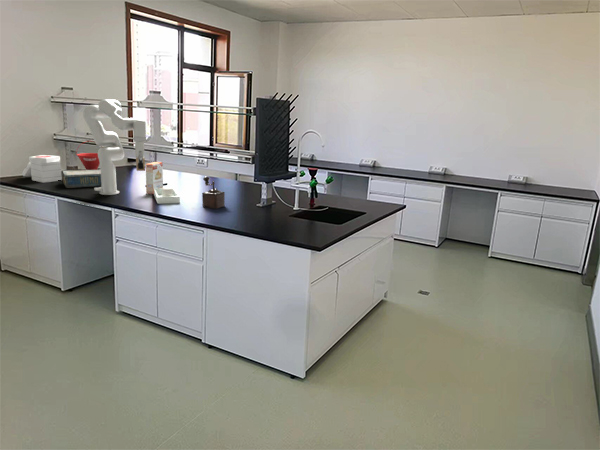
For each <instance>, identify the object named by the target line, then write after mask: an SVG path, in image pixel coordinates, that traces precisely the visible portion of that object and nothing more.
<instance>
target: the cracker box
mask: <svg viewBox="0 0 600 450" xmlns="http://www.w3.org/2000/svg"><path fill="white" fill-rule="evenodd" d="M163 163H164V162H160V161H154V162H149V163H145V183H146V184H145V185H146V186H145V188H146V189H145V190H146V194H149V195H154V189H156V188H164V183H163V182H164V181H163V180H164V178H163V175H164V171H163V170H164V169H163Z"/></svg>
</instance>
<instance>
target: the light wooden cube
mask: <svg viewBox="0 0 600 450" xmlns="http://www.w3.org/2000/svg"><path fill="white" fill-rule="evenodd" d="M139 158H140V157H139ZM145 159H146V158H145V157H144V158H143V167H144V169H138V157H137V158H136V157H135V164H136V165H135V166H136V168H135V169H136V171H137V172H139V171H140V172H144V171H145V172H146V161H145Z"/></svg>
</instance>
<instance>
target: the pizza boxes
mask: <svg viewBox="0 0 600 450" xmlns="http://www.w3.org/2000/svg"><path fill="white" fill-rule="evenodd" d="M22 176H23V177H31V180H32V181H34V182H35V181H36V182H38V183H51V182H59V181H58V180H61V181H63V173H62V164H61V156H60V155H48V154H47V155H46V154H39V155H34V156H28V163H27V164H26V167H25V168H24V170H23V171H22Z"/></svg>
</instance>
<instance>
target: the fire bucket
mask: <svg viewBox="0 0 600 450" xmlns="http://www.w3.org/2000/svg"><path fill="white" fill-rule="evenodd" d="M87 142H88V143H89V140H87V141H83V142H82V143H81V145H83V144H85V143H87ZM90 142H93V143H94V141H93V140H90ZM79 147H80V146H77V149H76V151H75V156H77V157H78V159H79V161H80V162H81V165H83V167H84V169H85V170H99V169H98V168H100V167H99V166H100V162H99V158H98V152H97V153H96V152H86V153H85V152H84V153H83V152H81V153H78V150H79ZM102 147H103V146H100V148H102Z"/></svg>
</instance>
